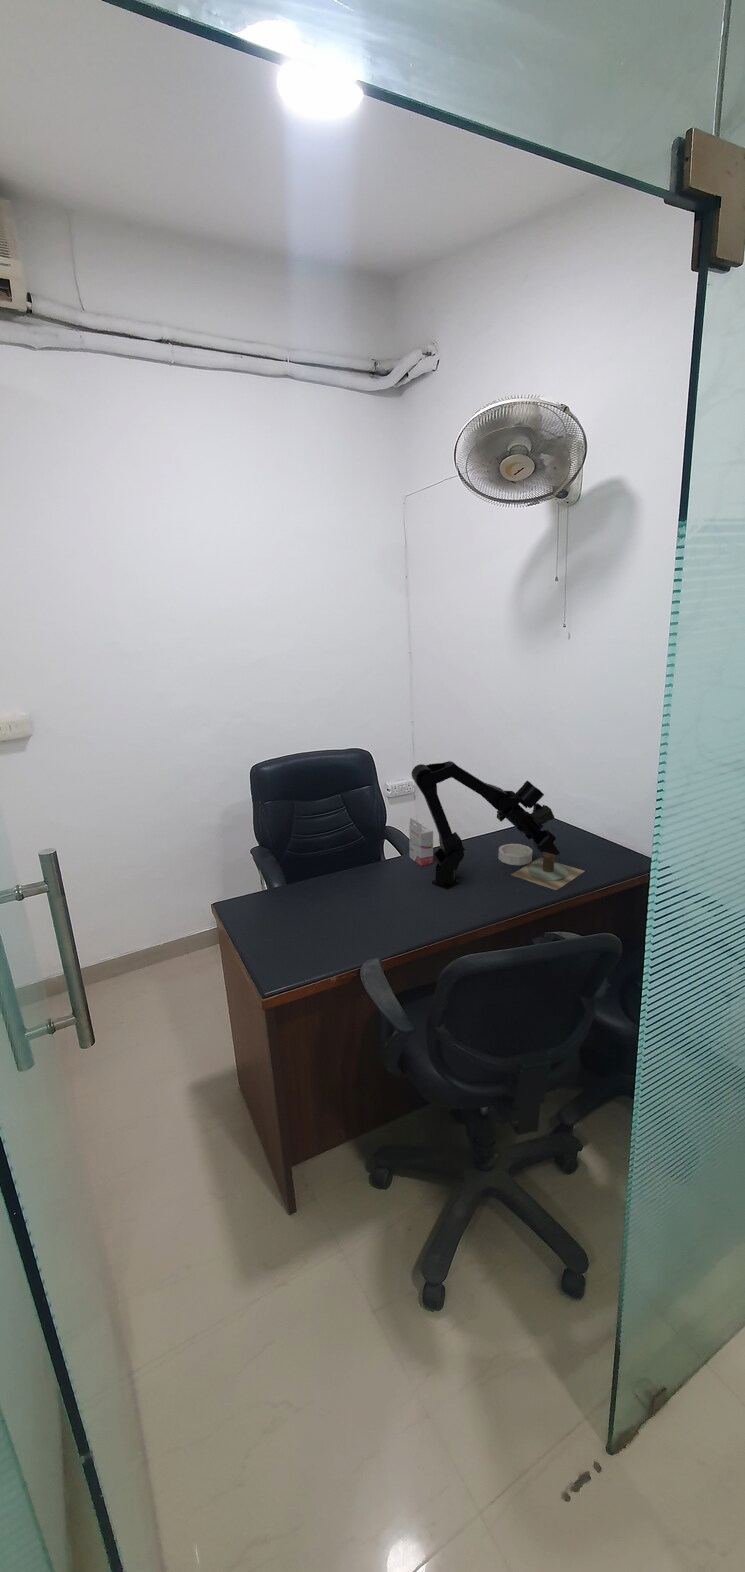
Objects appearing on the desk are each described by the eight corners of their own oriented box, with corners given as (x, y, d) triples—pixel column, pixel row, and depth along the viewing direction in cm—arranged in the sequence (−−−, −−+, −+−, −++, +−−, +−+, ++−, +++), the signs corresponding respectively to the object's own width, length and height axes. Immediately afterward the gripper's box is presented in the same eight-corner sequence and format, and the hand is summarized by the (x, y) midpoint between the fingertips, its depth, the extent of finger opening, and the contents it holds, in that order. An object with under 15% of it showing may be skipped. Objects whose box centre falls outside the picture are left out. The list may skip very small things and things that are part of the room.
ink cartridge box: (433, 863, 203) (434, 822, 199) (421, 866, 201) (420, 825, 197) (421, 854, 211) (421, 814, 206) (408, 857, 209) (408, 817, 204)
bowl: (520, 868, 197) (520, 859, 197) (492, 859, 205) (492, 850, 204) (538, 858, 205) (538, 849, 204) (510, 849, 212) (510, 841, 211)
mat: (556, 891, 182) (556, 890, 182) (510, 875, 193) (510, 874, 193) (584, 871, 194) (584, 871, 194) (540, 858, 205) (540, 857, 205)
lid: (555, 884, 185) (557, 851, 182) (521, 873, 193) (522, 841, 190) (574, 872, 193) (576, 840, 190) (540, 861, 201) (542, 831, 198)
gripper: (551, 809, 176) (584, 841, 181) (527, 790, 194) (557, 819, 199) (524, 836, 178) (557, 867, 182) (502, 815, 196) (533, 844, 200)
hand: (552, 848), depth 191 cm, fingers open, 9 cm apart
